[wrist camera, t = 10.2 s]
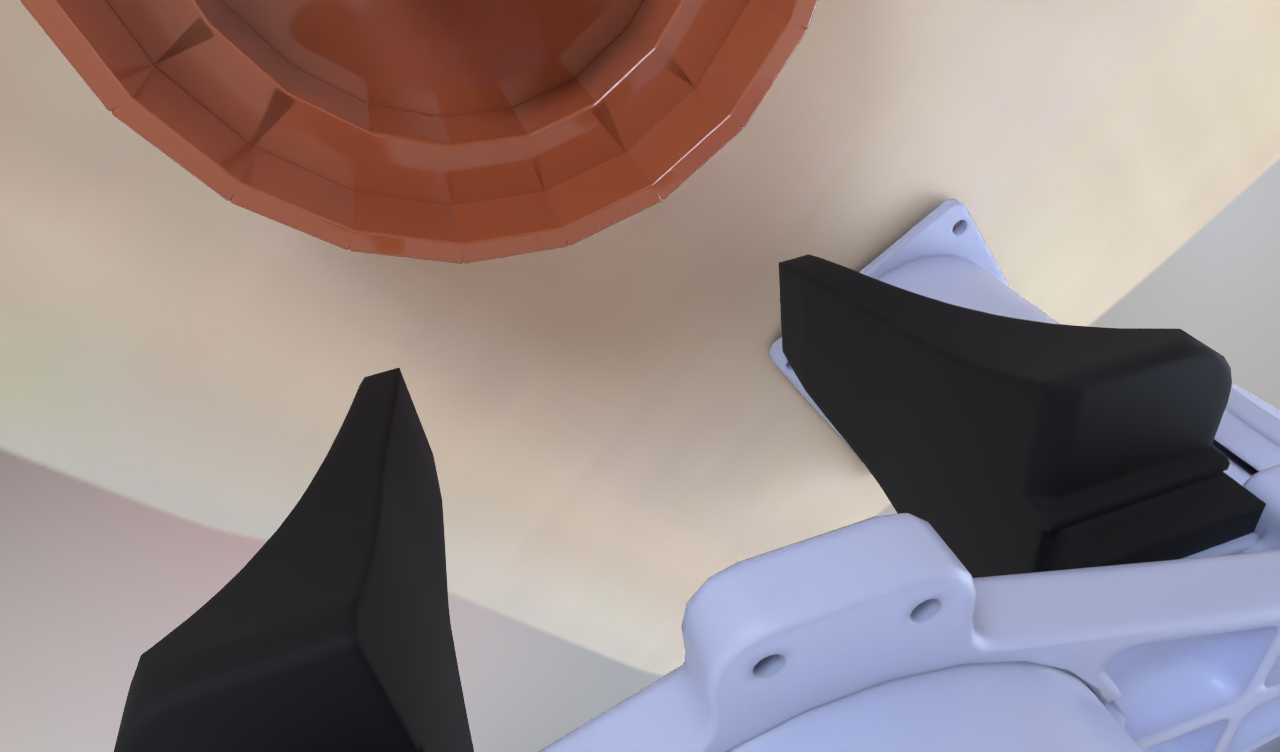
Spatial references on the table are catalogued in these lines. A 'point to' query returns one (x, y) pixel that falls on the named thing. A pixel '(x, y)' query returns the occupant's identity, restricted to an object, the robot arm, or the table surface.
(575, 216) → the bowl
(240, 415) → the table surface
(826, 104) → the table surface
